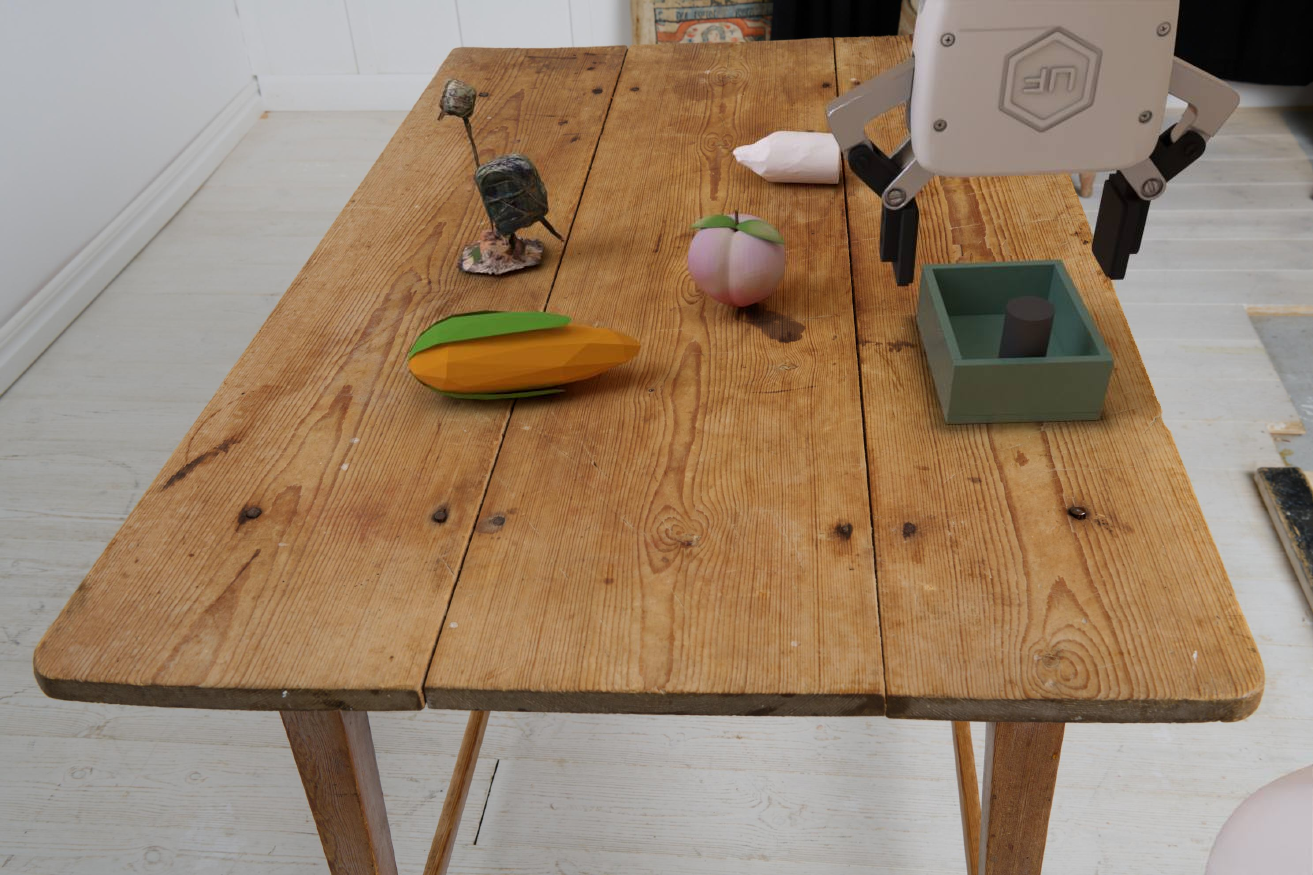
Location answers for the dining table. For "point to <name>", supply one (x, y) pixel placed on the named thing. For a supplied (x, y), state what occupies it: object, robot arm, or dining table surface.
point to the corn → (513, 353)
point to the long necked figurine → (500, 198)
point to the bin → (969, 335)
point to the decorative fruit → (736, 258)
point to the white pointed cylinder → (793, 157)
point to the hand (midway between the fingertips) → (1003, 269)
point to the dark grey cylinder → (1026, 328)
